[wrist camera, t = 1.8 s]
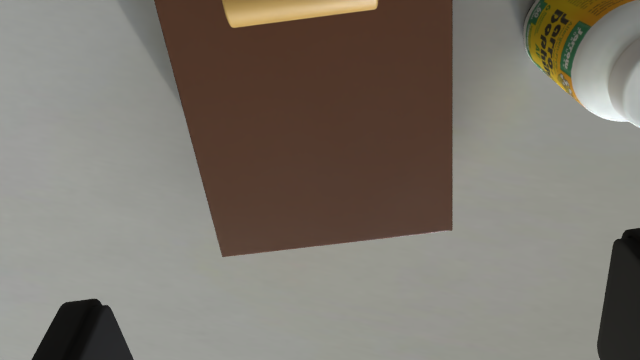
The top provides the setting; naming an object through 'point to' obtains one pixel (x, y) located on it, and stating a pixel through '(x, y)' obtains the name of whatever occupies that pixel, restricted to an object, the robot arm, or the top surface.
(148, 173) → the top surface
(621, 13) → the supplement bottle
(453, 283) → the top surface
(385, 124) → the brown drawer front
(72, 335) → the robot arm
